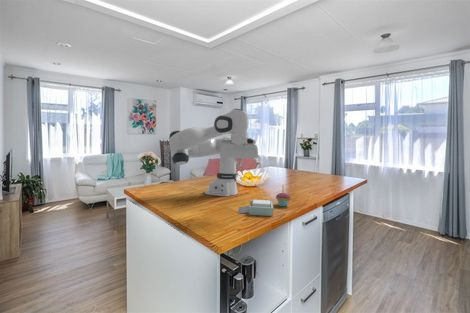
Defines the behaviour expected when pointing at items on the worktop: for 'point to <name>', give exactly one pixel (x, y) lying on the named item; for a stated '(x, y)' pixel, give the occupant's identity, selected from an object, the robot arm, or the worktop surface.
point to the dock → (256, 210)
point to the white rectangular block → (261, 203)
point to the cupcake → (283, 198)
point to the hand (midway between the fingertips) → (238, 166)
